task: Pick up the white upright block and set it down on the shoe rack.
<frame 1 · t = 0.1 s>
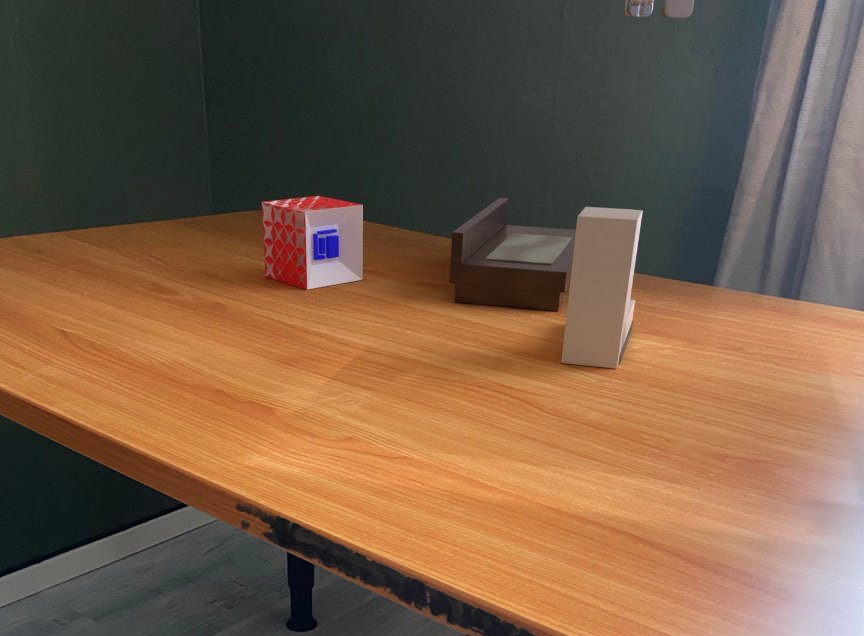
hand: (655, 17, 72), 26 cm above the table, tool pointing down, fingers open, 8 cm apart
red and white cube: (313, 280, 113), on the table
white upright block: (592, 358, 88), on the table
shoe rack: (525, 283, 113), on the table
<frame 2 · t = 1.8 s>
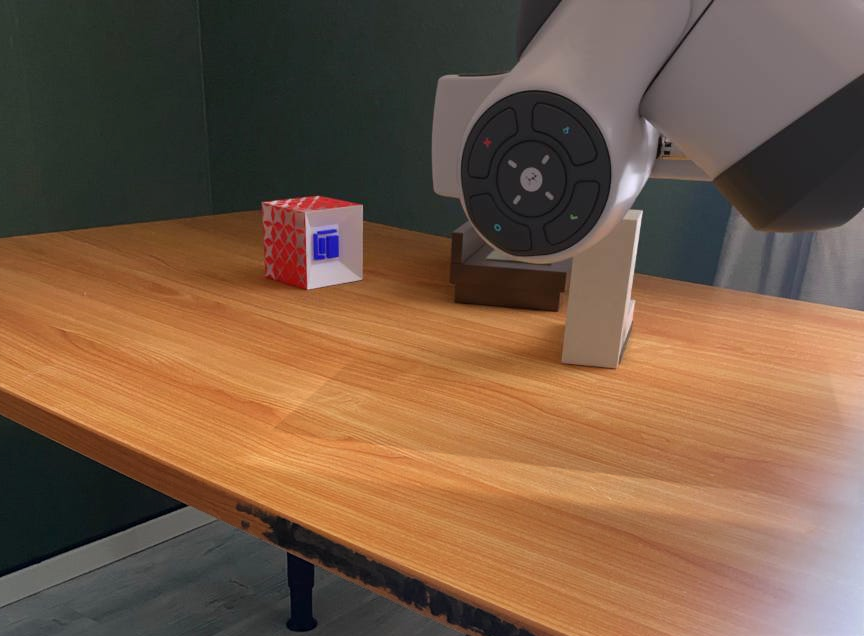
hand: (606, 124, 68), 19 cm above the table, tool horizontal, fingers open, 8 cm apart
nothing on the table moved.
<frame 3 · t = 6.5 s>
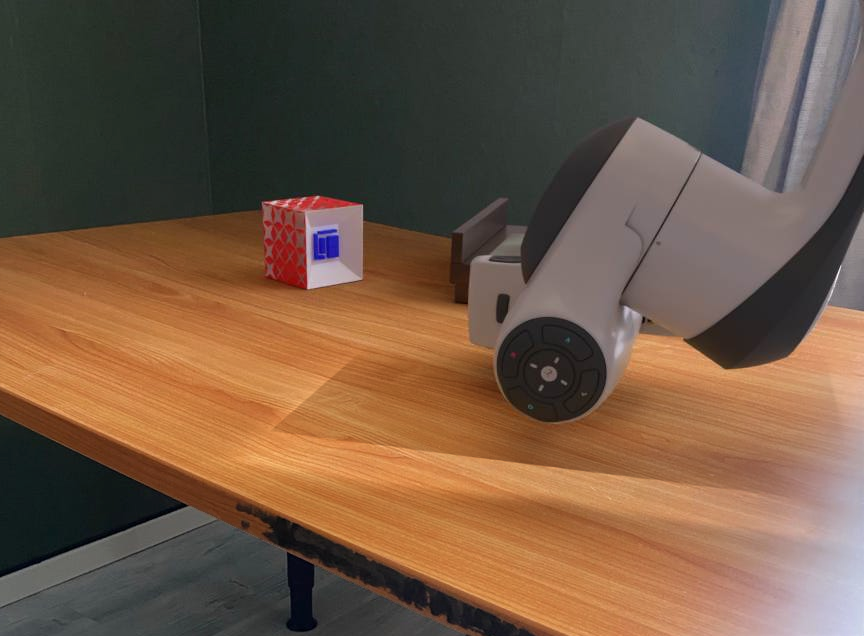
hand: (603, 273, 85), 7 cm above the table, tool horizontal, fingers closed on white upright block, 5 cm apart
white upright block: (592, 358, 88), on the table, touching gripper
everything else where it was.
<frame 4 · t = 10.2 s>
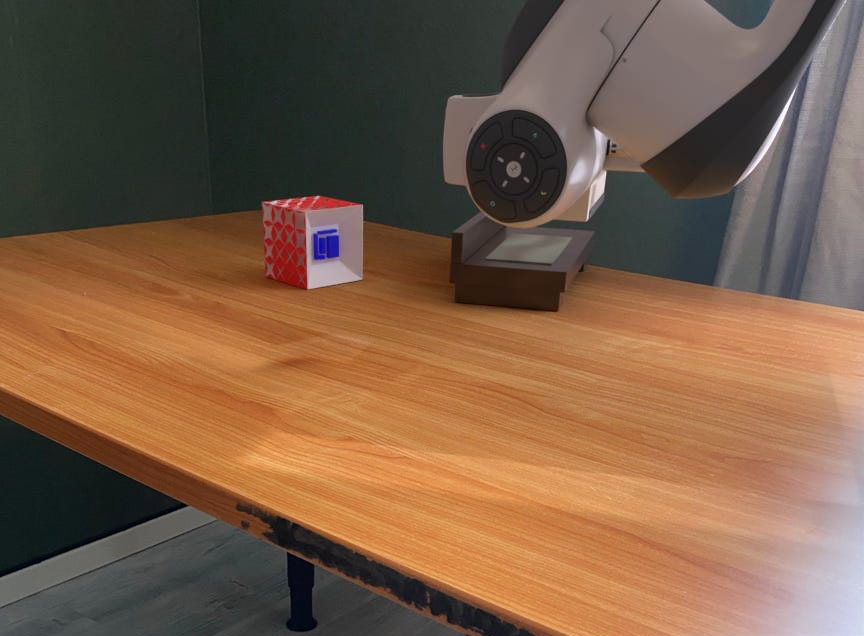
hand: (573, 130, 89), 17 cm above the table, tool horizontal, fingers closed on white upright block, 5 cm apart
white upright block: (563, 215, 92), point 10 cm above the table, touching gripper
everything else where it was.
when the fingers open (11 cm above the table, at t = 13.8 s): white upright block stays where it is, resting on shoe rack.
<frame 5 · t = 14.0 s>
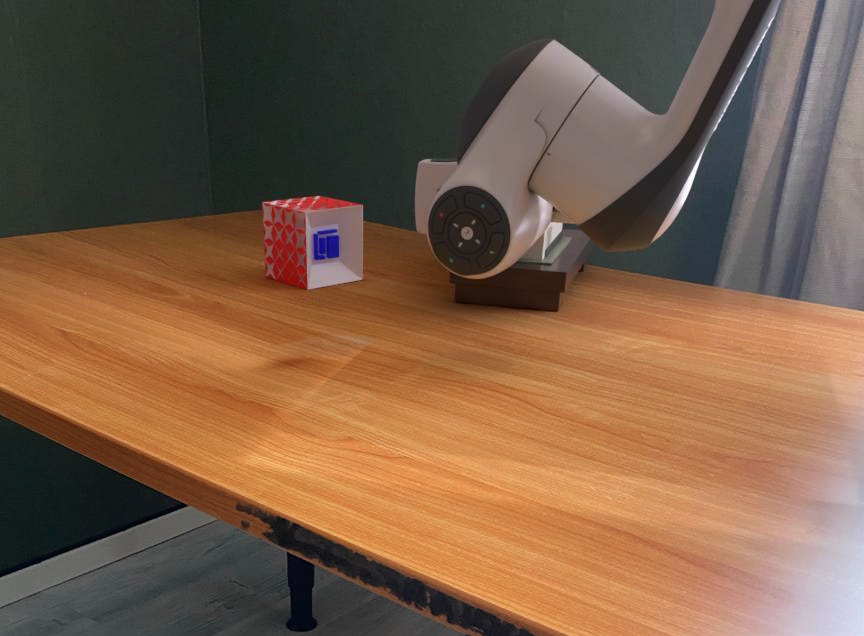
hand: (531, 182, 103), 11 cm above the table, tool horizontal, fingers open, 6 cm apart
white upright block: (523, 254, 106), point 4 cm above the table, touching shoe rack
everything else where it was.
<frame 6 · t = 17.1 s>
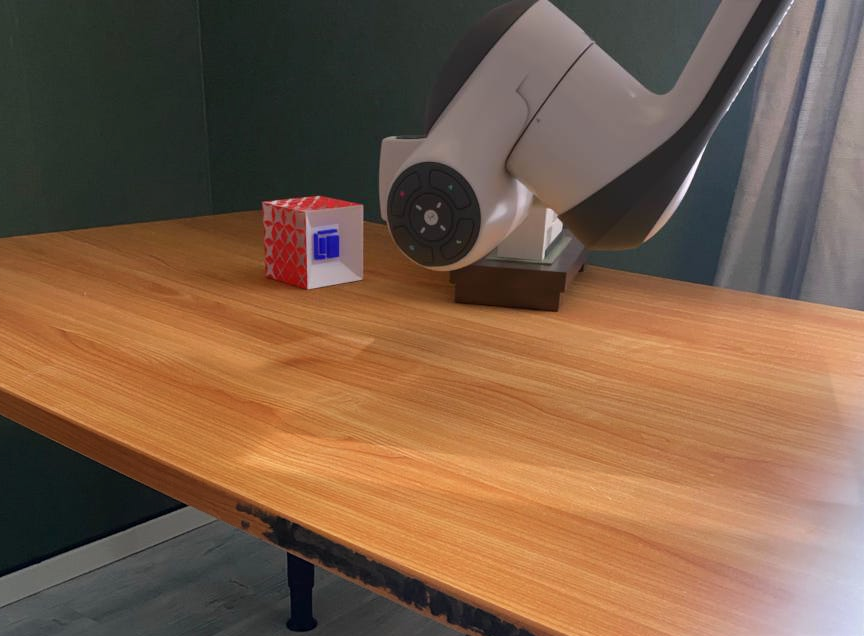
hand: (512, 165, 92), 14 cm above the table, tool horizontal, fingers open, 8 cm apart
nothing on the table moved.
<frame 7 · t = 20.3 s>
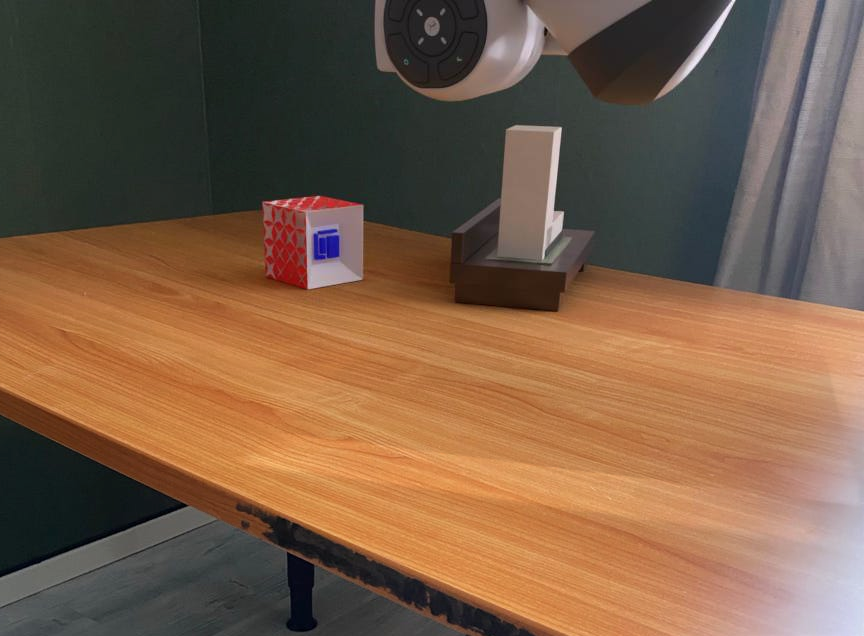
hand: (520, 25, 85), 25 cm above the table, tool horizontal, fingers open, 8 cm apart
nothing on the table moved.
at the end: white upright block inside the target area on the shoe rack (0.1 cm from its centre), point 4.1 cm above the shoe rack's base; white upright block tilted 0°; the gripper is holding nothing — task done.
